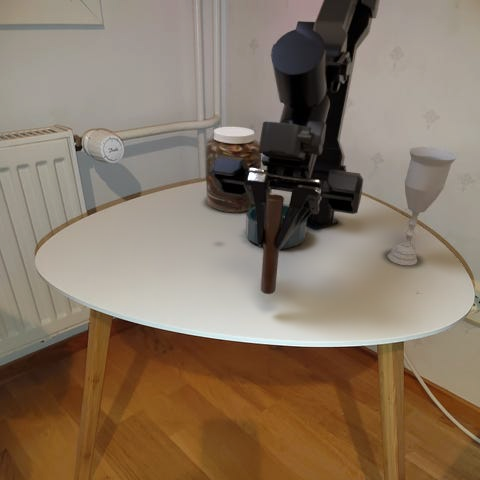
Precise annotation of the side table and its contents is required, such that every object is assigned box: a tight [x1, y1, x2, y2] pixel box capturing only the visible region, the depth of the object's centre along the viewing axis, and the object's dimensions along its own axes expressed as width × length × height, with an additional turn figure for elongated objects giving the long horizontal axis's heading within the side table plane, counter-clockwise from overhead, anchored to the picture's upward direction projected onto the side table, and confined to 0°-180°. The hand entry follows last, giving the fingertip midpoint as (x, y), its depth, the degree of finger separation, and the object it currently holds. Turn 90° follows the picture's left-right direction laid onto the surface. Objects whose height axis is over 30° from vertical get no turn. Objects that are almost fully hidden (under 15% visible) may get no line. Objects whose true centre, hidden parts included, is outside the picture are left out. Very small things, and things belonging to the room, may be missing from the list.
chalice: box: [387, 146, 458, 266], centre depth 69 cm, size 7×7×18 cm
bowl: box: [245, 203, 308, 250], centre depth 79 cm, size 11×11×4 cm
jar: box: [205, 126, 262, 213], centre depth 89 cm, size 12×12×15 cm
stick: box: [260, 194, 285, 295], centre depth 53 cm, size 2×2×13 cm
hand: (268, 247), depth 52 cm, fingers closed on stick, 2 cm apart
